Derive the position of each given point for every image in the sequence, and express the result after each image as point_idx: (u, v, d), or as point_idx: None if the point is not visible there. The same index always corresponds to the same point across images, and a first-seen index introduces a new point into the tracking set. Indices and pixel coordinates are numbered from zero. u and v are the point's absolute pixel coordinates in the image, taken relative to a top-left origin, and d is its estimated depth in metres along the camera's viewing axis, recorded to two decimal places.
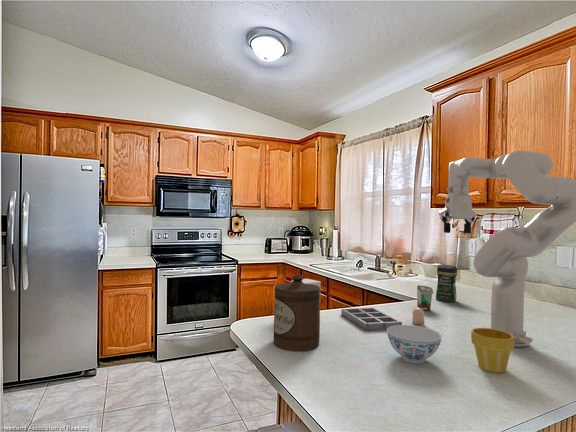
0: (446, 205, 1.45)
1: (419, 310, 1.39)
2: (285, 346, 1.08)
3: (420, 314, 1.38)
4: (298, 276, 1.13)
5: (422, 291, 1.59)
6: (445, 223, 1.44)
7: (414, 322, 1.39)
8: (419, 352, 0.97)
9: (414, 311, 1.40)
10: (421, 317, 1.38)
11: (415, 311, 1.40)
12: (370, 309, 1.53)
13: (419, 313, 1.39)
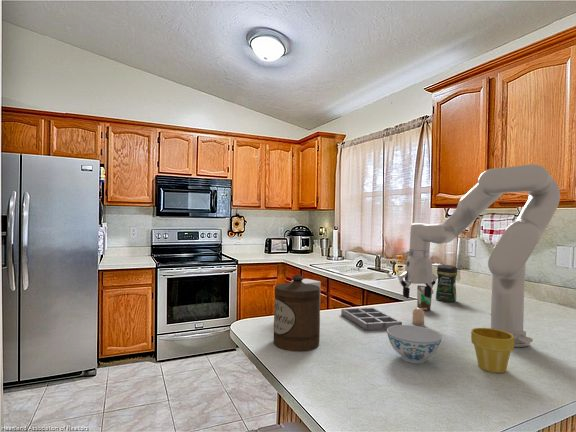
0: (406, 268, 1.40)
1: (419, 310, 1.39)
2: (285, 346, 1.08)
3: (420, 314, 1.38)
4: (298, 276, 1.13)
5: (422, 291, 1.59)
6: (404, 287, 1.39)
7: (414, 322, 1.39)
8: (419, 352, 0.97)
9: (414, 311, 1.40)
10: (421, 317, 1.38)
11: (415, 311, 1.40)
12: (370, 309, 1.53)
13: (419, 313, 1.39)
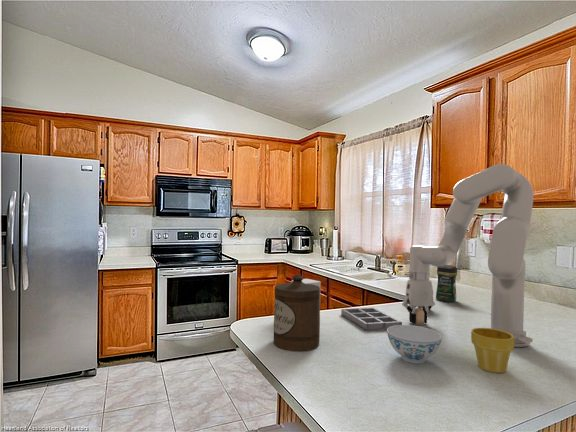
0: (407, 291, 1.40)
1: (419, 310, 1.39)
2: (285, 346, 1.08)
3: (420, 314, 1.38)
4: (298, 276, 1.13)
5: None
6: (410, 313, 1.39)
7: None
8: (419, 352, 0.97)
9: None
10: (421, 317, 1.38)
11: (415, 311, 1.40)
12: (370, 309, 1.53)
13: (419, 313, 1.39)
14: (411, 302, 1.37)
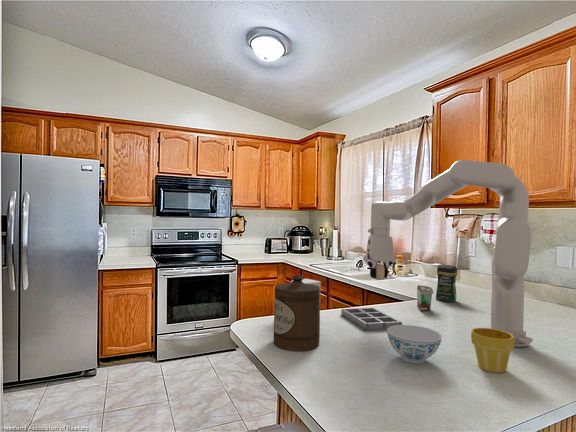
0: (367, 247, 1.42)
1: (379, 265, 1.42)
2: (285, 346, 1.08)
3: (380, 269, 1.41)
4: (298, 276, 1.13)
5: (422, 291, 1.59)
6: (371, 268, 1.42)
7: None
8: (419, 351, 0.97)
9: None
10: (381, 272, 1.41)
11: (375, 266, 1.42)
12: (370, 309, 1.53)
13: (379, 268, 1.41)
14: (371, 257, 1.40)
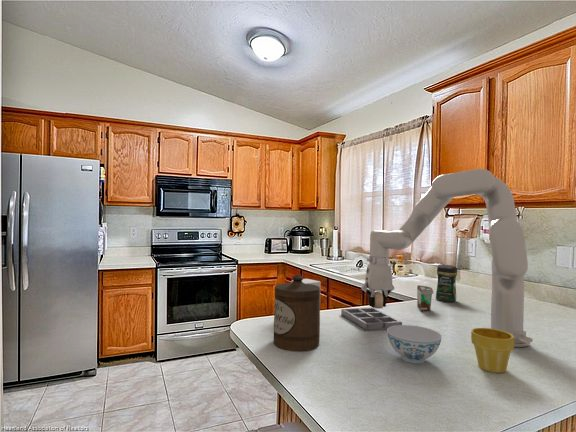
0: (366, 275, 1.42)
1: (378, 294, 1.41)
2: (285, 346, 1.08)
3: (379, 297, 1.41)
4: (298, 276, 1.13)
5: (422, 291, 1.59)
6: (370, 297, 1.42)
7: None
8: (419, 352, 0.97)
9: None
10: (379, 301, 1.41)
11: (374, 295, 1.42)
12: (370, 309, 1.53)
13: (378, 296, 1.41)
14: (370, 286, 1.39)
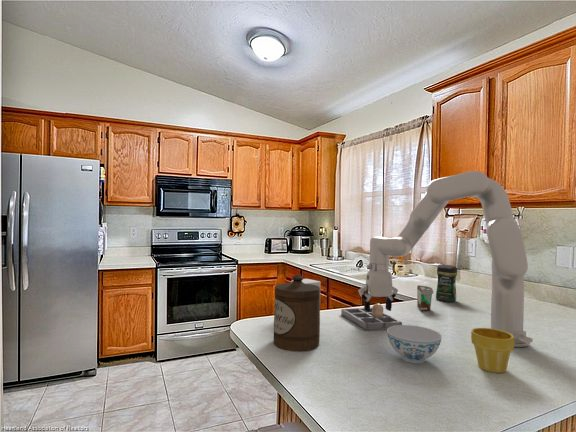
0: (366, 282, 1.42)
1: (378, 306, 1.41)
2: (285, 346, 1.08)
3: (379, 310, 1.41)
4: (298, 276, 1.13)
5: (422, 291, 1.59)
6: (365, 301, 1.41)
7: None
8: (419, 352, 0.97)
9: (373, 306, 1.42)
10: (379, 313, 1.41)
11: (374, 307, 1.42)
12: (370, 309, 1.53)
13: (378, 309, 1.41)
14: (370, 293, 1.39)
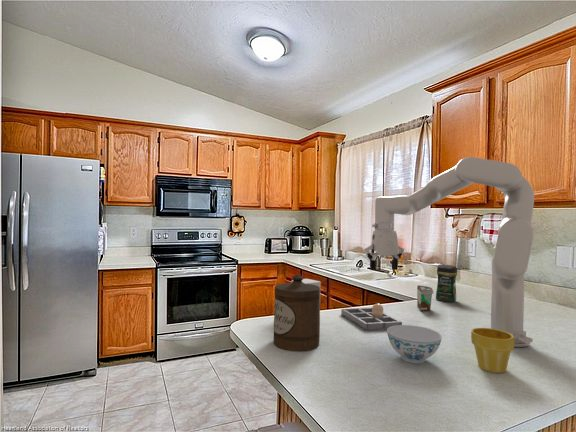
0: (372, 242, 1.42)
1: (378, 306, 1.41)
2: (285, 346, 1.08)
3: (379, 310, 1.41)
4: (298, 276, 1.13)
5: (422, 291, 1.59)
6: (371, 260, 1.41)
7: None
8: (419, 352, 0.97)
9: (373, 306, 1.42)
10: (379, 313, 1.41)
11: (374, 307, 1.42)
12: (370, 309, 1.53)
13: (378, 309, 1.41)
14: (376, 251, 1.40)
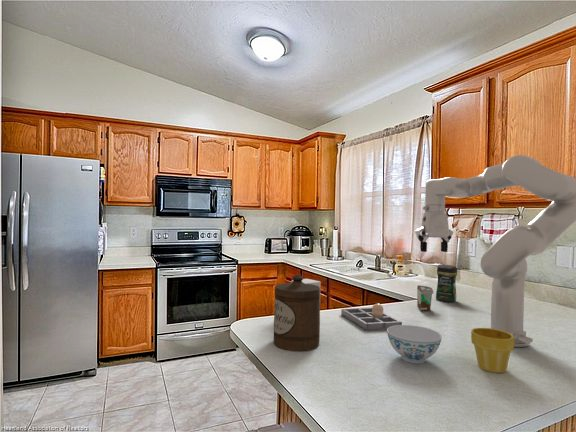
0: (423, 224, 1.44)
1: (378, 306, 1.41)
2: (285, 346, 1.08)
3: (379, 310, 1.41)
4: (298, 276, 1.13)
5: (422, 291, 1.59)
6: (421, 242, 1.43)
7: None
8: (419, 352, 0.97)
9: (373, 306, 1.42)
10: (379, 313, 1.41)
11: (374, 307, 1.42)
12: (370, 309, 1.53)
13: (378, 309, 1.41)
14: (427, 233, 1.41)
